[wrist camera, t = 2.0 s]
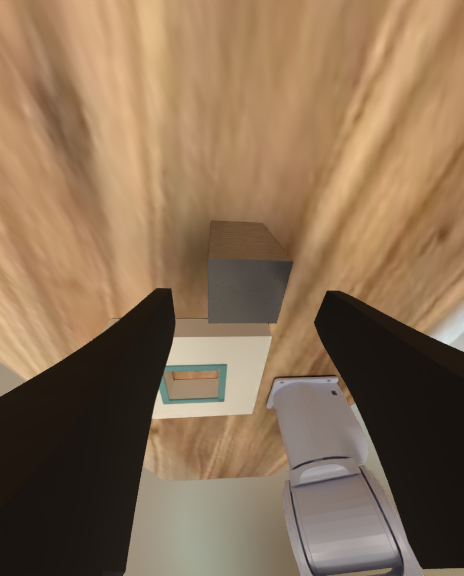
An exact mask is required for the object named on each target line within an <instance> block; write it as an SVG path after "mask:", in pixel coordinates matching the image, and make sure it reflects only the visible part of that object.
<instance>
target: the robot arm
mask: <svg viewBox="0 0 464 576" xmlns="http://www.w3.org/2000/svg"><path fill="white" fill-rule="evenodd" d="M314 324H315V327H316V329H317V332H318V334H319V337H320V339H321V341H322V343H323V345H324V347H325V349H326V351H327V352H328V354H329V356H330V358H331V359H332V361H333V363H334V365H335V366H336V368H337V370H338V372H339V373H340V375H341V377H342V378H343V380H344V382H345V384H346V385H347V387H348V389H349V391H350V393H351V395H352V397H353V399H354V401H355V403H356V405H357V407H358V410H359V412H360V414H361V416H362V418H363V421H364V423H365V425H366V428H367V430H368V432H369V435H370V437H371V440H372V442H373V444H374V447H375V449H376V452H377V454H378V457H379V460H380V462H381V465H382V467H383V470H384V473H385V475H386V478H387V480H388V483H389V486H390V489H391V492H392V494H393V497H394V501H395V503H396V506H397V509H398V512H399V515H400V518H401V521H402V523H401V521H400V519H399V517H398V515H397V513H396V511H395V509H394V507H393V505H392V504H391V502H390V500H389V498H388V496H387V494H386V492H385V491H384V489H383V487H382V485H381V484H380V482H379V480H378V479H377V477H376V476H375V474H374V473H373V472H372V471H370V470H369V469H367V468H366V467H365V466H364V465H361V466H358V465H360V464H363V463H365V461H366V459H367V457H368V446H367V441H366V438H365V435H364V432H363V430H362V428H361V426H360V424H359V422H358V420H357V418H356V416H355V415H354V413H353V411H352V409H351V407H350V406H349V404H348V402H347V400H346V398H345V397H344V395H343V393H342V391H341V389H340V388H339V386H338V384H337V382H338V380H339V379H338V378H337V377H336V376H330V377H299V378H277V379H275V380H274V383H273V386H272V389H271V392H270V395H269V398H268V401H267V404H266V407H267V408H275V410H276V414H277V418H278V422H279V426H280V430H281V434H282V438H283V442H284V447H285V451H286V455H287V459H288V463H289V467H290V471H288V476H289V480H287V481H285V484H284V488H283V491H282V498H283V506H284V513H285V519H286V523H287V529H288V533H289V537H290V542H291V545H292V549H293V553H294V556H295V559H296V562H297V564H298V567H299V571H300V575H301V576H326V575H334V574H342V573H351V572H359V571H367V570H376V569H384V568H392V570H391V571H389V572H387V573H385V574H377V575H368V576H424V574H423V572H422V570H421V567H422V568H423V569H443V568H464V352H463V351H460V350H458V349H456V348H453V347H451V346H449V345H447V344H444V343H442V342H440V341H438V340H436V339H433V338H431V337H429V336H427V335H425V334H423V333H421V332H419V331H417V330H415V329H413V328H411V327H409V326H407V325H405V324H403V323H401V322H399V321H397V320H395V319H394V318H392V317H390V316H388V315H386V314H384V313H382V312H380V311H379V310H377V309H375V308H373V307H371V306H369V305H367V304H366V303H364V302H362V301H360V300H358V299H356V298H354V297H352V296H350V295H348V294H346V293H344V292H341V291H327V292H326V294H325V297H324V299H323V302H322V304H321V307H320V309H319V311H318V314H317V316H316V319H315V321H314ZM175 325H176V320H175V313H174V306H173V298H172V291H171V288H157V289H155V290H154V291H153V292H152V293H150V294H149V295H148V296H147V297H146V298H145V299H144V300H142V301H141V302H140V303H139V304H138V305H137V306H135V307H134V308H133V309H132V310H131V311H129V312H128V313H127V314H126V315H125V316H123V317H122V318H121V319H120V320H118V321H117V322H116V323H114V324H113V325H112V326H110V327H109V328H108V329H107V330H105V331H104V332H103V333H101V334H100V335H99V336H97V337H96V338H95V339H93V340H92V341H90V342H89V343H87V344H86V345H85V346H83V347H82V348H80V349H79V350H77V351H76V352H74V353H73V354H71V355H69V356H68V357H66V358H65V359H63V360H62V361H60V362H59V363H57V364H55V365H54V366H52V367H50V368H49V369H47V370H45V371H44V372H42V373H40V374H39V375H37V376H35V377H33V378H32V379H30V380H28V381H27V382H25V383H23V384H22V385H20V386H18V387H16V388H15V389H13V390H11V391H10V392H8V393H6V394H4V395H3V396H1V397H0V576H123V574H124V573H125V570H126V563H127V557H128V550H129V544H130V538H131V531H132V525H133V519H134V512H135V506H136V501H137V495H138V489H139V483H140V478H141V472H142V466H143V461H144V456H145V450H146V445H147V440H148V435H149V430H150V425H151V420H152V415H153V410H154V405H155V401H156V398H157V394H158V390H159V387H160V384H161V380H162V377H163V374H164V370H165V367H166V364H167V360H168V357H169V354H170V350H171V347H172V343H173V337H174V332H175ZM402 524H403V526H402ZM403 527H404V528H403ZM420 566H421V567H420Z"/></svg>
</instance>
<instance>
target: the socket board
mask: <svg viewBox="0 0 464 576" xmlns="http://www.w3.org/2000/svg"><path fill="white" fill-rule="evenodd" d="M118 320H120V319H110V320H109V322H108V323H107V325H106V326H105V328H104V329H103V331H102V332H101V333H103V332H104V331H105V330H107V329H108V328H109V327H110V326H112V325H113V324H114V323H116V322H117V321H118ZM175 320H176V325H175V332H174V337H173V343H172V347H171V350H170V354H169V357H168V360H167V364H166V367H165V370H164V374H163V377H162V380H161V384H160V387H159V390H158V394H157V398H156V401H155V405H154V410H153V415H152V419H161V418H181V417H201V416H221V415H241V414H252V413H253V409H254V405H255V401H256V397H257V394H258V390H259V386H260V382H261V378H262V374H263V370H264V367H265V363H266V359H267V355H268V351H269V347H270V344H271V340H272V334H271V331H270V328H269V325H268V323H208V319H175ZM214 370H218V378H217V379H185V380H173V375H172V372H177V371H214Z"/></svg>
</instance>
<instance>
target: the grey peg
mask: <svg viewBox="0 0 464 576" xmlns="http://www.w3.org/2000/svg"><path fill="white" fill-rule="evenodd" d="M292 264H293V260H292V259H291V258H290V256H289V255H288V254H287V253H286V252H285V250H284V249H283V248H282V247H281V245H280V244H279V243H278V242H277V240H276V239H275V238H274V237H273V235H272V234H271V233H270V232H269V231H268V229H267V228H266V227H265V226H264V224H263V223H250V222H230V221H211V230H210V241H209V253H208V323H277V321H278V317H279V313H280V309H281V305H282V302H283V298H284V294H285V290H286V287H287V283H288V279H289V275H290V271H291V268H292Z"/></svg>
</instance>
